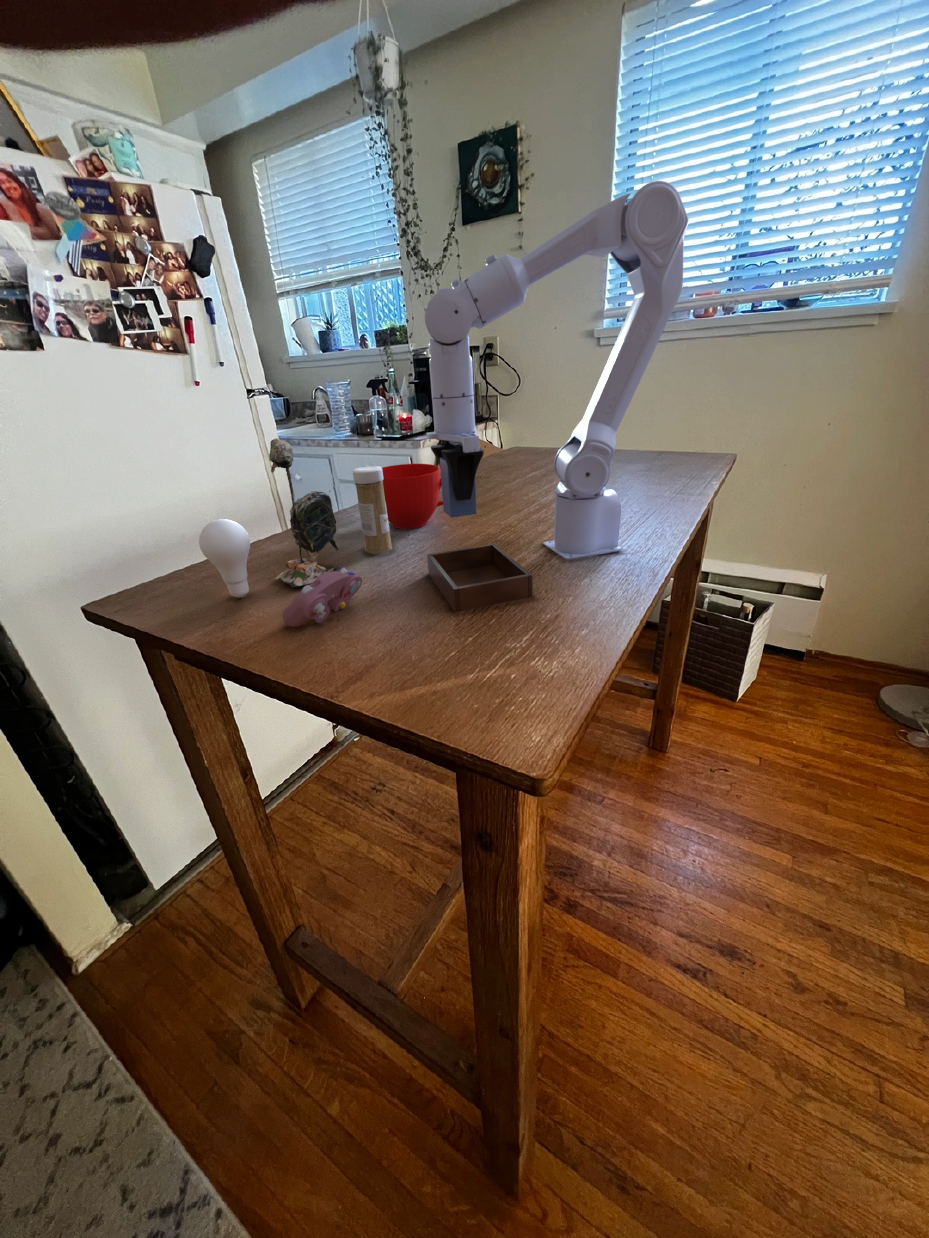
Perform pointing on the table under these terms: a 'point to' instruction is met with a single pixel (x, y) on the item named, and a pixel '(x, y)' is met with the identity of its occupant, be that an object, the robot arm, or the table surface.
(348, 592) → the video game controller
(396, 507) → the ceramic cup
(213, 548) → the lightbulb
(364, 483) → the sprinkles bottle
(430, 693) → the table surface
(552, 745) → the table surface
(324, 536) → the ostrich figurine
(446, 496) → the peg
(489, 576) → the box
